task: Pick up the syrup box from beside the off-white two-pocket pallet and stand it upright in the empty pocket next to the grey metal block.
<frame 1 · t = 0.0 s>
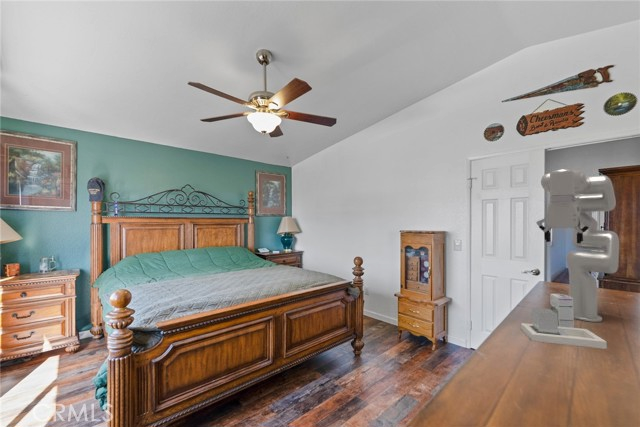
hand: (563, 242, 115), 37 cm above the dresser, tool pointing down, fingers open, 9 cm apart
metal block: (544, 336, 110), point 1 cm above the dresser, touching pallet
syrup box: (562, 330, 119), on the dresser
pallet: (560, 340, 109), on the dresser
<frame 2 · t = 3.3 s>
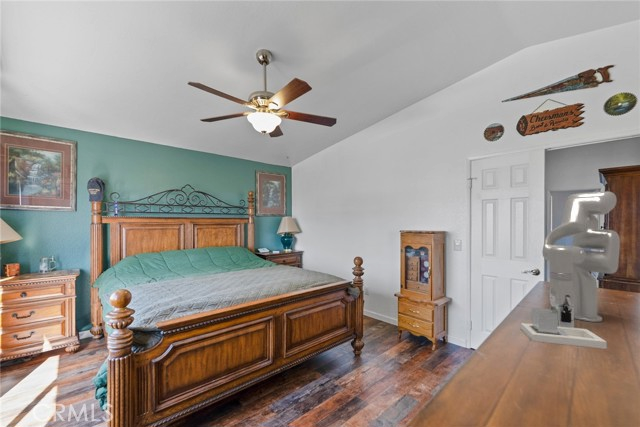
hand: (562, 318, 119), 5 cm above the dresser, tool pointing down, fingers closed on syrup box, 6 cm apart
syrup box: (562, 330, 119), on the dresser, touching gripper
everything else where it was.
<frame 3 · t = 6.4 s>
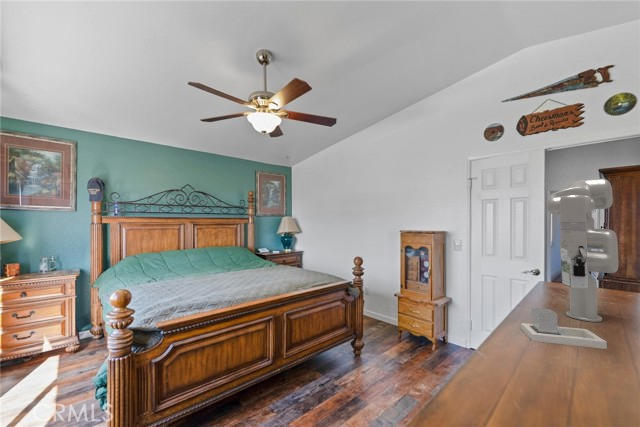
hand: (574, 274, 108), 26 cm above the dresser, tool pointing down, fingers closed on syrup box, 6 cm apart
syrup box: (574, 286, 108), point 21 cm above the dresser, touching gripper
everything else where it was.
when the fingers open (7 cm above the dresser, at t = 9.4 s): syrup box drops 1 cm, resting on pallet.
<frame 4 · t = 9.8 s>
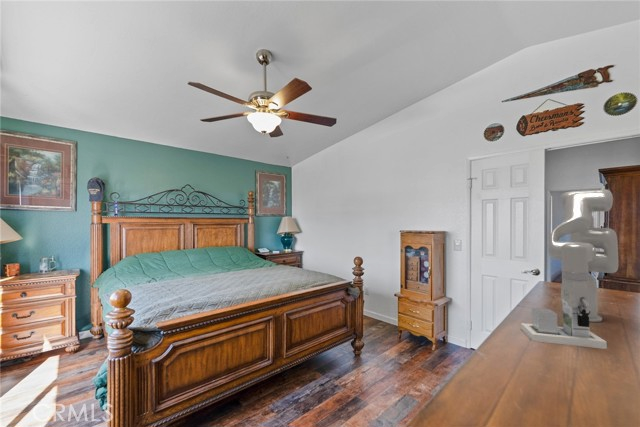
hand: (575, 321, 107), 8 cm above the dresser, tool pointing down, fingers open, 9 cm apart
syrup box: (576, 340, 107), point 1 cm above the dresser, touching pallet
everything else where it was.
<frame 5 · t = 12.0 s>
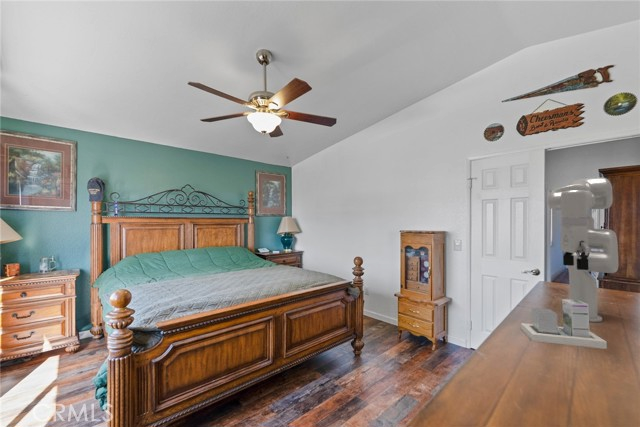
hand: (575, 267, 108), 28 cm above the dresser, tool pointing down, fingers open, 9 cm apart
nothing on the dresser moved.
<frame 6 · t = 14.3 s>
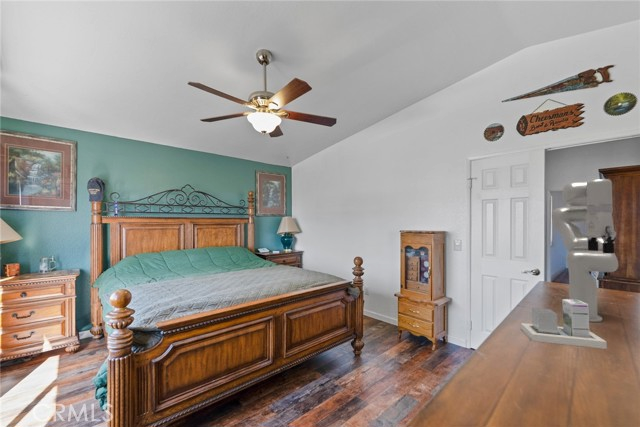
hand: (600, 251, 115), 33 cm above the dresser, tool pointing down, fingers open, 9 cm apart
nothing on the dresser moved.
at the end: syrup box 0.2 cm from the target spot on the pallet, point 0.8 cm above the pallet's base; syrup box tilted 0°; the gripper is holding nothing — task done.
